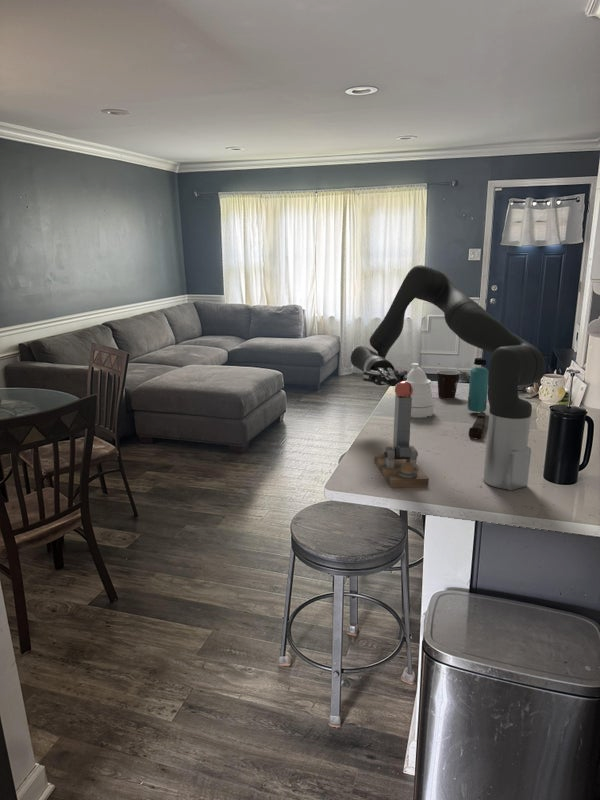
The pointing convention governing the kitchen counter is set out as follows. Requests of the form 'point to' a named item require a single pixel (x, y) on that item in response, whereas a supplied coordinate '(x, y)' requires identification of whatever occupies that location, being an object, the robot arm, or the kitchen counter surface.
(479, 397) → the beverage bottle
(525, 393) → the kitchen counter surface
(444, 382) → the coffee mug
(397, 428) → the lever
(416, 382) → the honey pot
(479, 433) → the hand tool
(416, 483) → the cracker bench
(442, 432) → the kitchen counter surface
